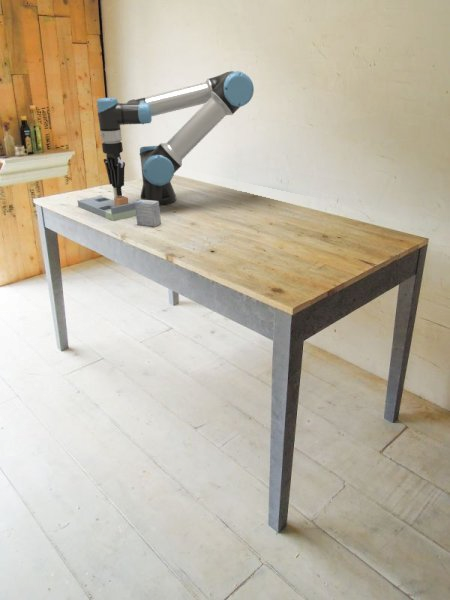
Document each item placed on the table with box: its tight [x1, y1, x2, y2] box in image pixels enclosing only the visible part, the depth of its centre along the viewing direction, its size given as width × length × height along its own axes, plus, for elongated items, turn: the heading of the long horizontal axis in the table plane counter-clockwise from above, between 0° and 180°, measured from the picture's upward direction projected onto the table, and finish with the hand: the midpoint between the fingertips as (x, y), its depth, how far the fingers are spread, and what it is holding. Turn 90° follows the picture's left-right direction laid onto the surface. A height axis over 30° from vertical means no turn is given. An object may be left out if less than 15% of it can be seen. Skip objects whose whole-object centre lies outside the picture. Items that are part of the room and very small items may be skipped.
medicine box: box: [135, 199, 162, 227], centre depth 184 cm, size 8×4×9 cm, turn 65°
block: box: [113, 195, 129, 207], centre depth 198 cm, size 4×4×4 cm
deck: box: [77, 195, 136, 222], centre depth 204 cm, size 30×11×5 cm, turn 41°
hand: (119, 203), depth 200 cm, fingers closed
